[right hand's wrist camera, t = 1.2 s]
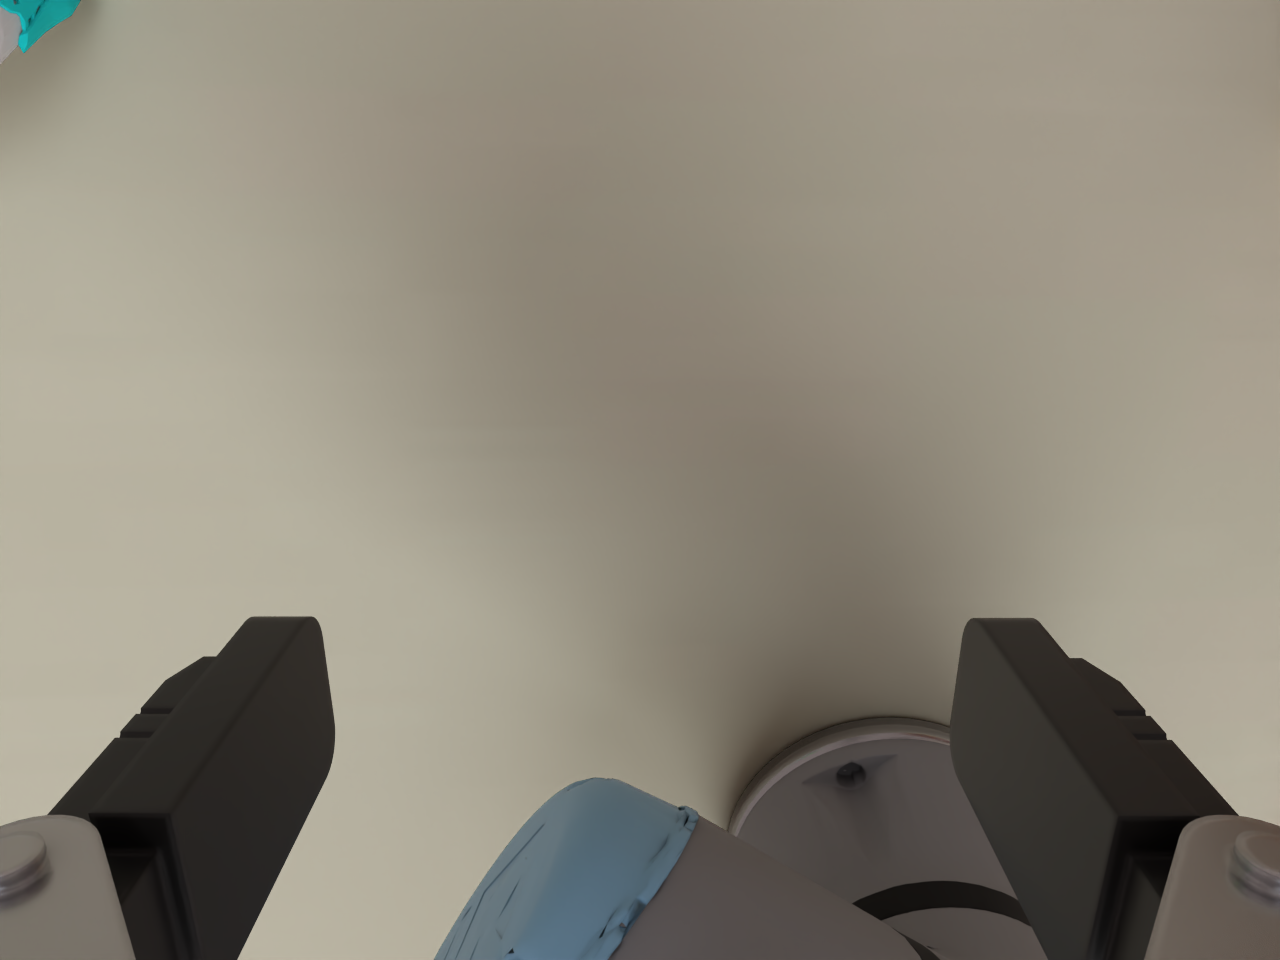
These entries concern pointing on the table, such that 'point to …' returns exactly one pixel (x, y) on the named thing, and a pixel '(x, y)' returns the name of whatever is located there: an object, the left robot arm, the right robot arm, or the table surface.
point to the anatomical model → (29, 21)
